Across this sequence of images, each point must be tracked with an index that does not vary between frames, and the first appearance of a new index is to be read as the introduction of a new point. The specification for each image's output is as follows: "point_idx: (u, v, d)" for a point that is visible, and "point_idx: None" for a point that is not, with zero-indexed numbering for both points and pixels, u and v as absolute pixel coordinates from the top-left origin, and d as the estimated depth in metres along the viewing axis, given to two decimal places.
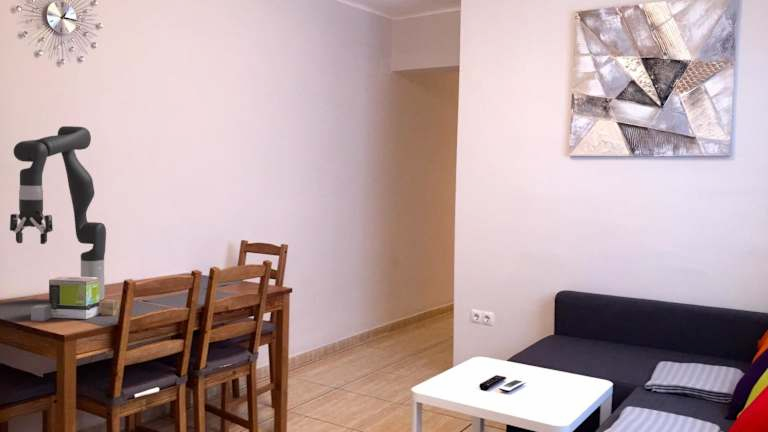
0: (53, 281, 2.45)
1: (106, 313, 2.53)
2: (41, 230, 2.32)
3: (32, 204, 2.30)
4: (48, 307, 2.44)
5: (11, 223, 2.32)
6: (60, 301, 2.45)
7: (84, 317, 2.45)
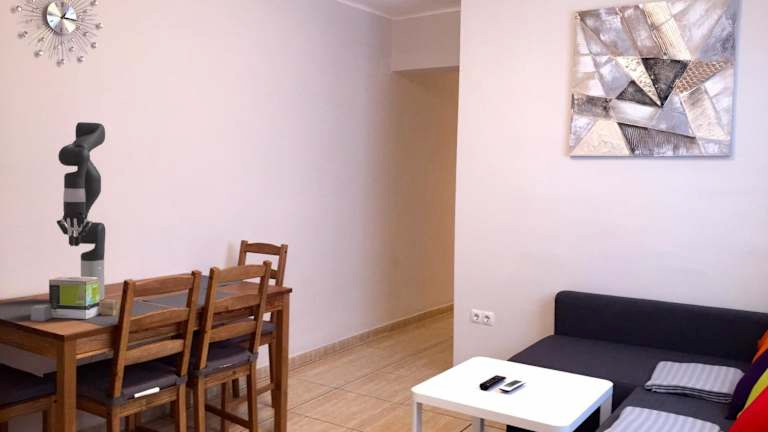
0: (53, 281, 2.45)
1: (106, 313, 2.53)
2: (76, 233, 2.47)
3: (75, 206, 2.44)
4: (48, 307, 2.44)
5: (61, 228, 2.47)
6: (60, 301, 2.45)
7: (84, 317, 2.45)
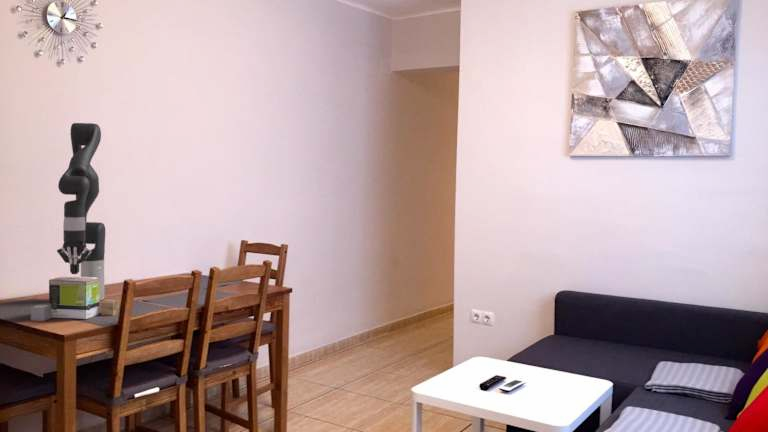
0: (53, 281, 2.45)
1: (106, 313, 2.53)
2: (75, 261, 2.48)
3: (76, 235, 2.45)
4: (48, 307, 2.44)
5: (62, 256, 2.48)
6: (60, 301, 2.45)
7: (84, 317, 2.45)
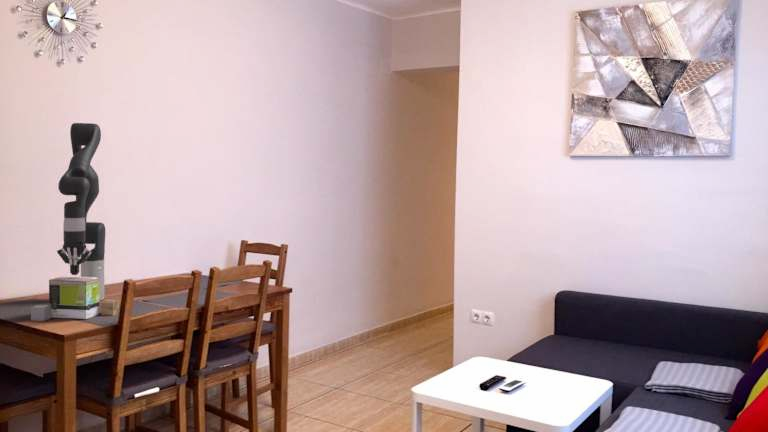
0: (53, 281, 2.45)
1: (106, 313, 2.53)
2: (75, 262, 2.48)
3: (76, 235, 2.45)
4: (48, 307, 2.44)
5: (62, 257, 2.48)
6: (60, 301, 2.45)
7: (84, 317, 2.45)
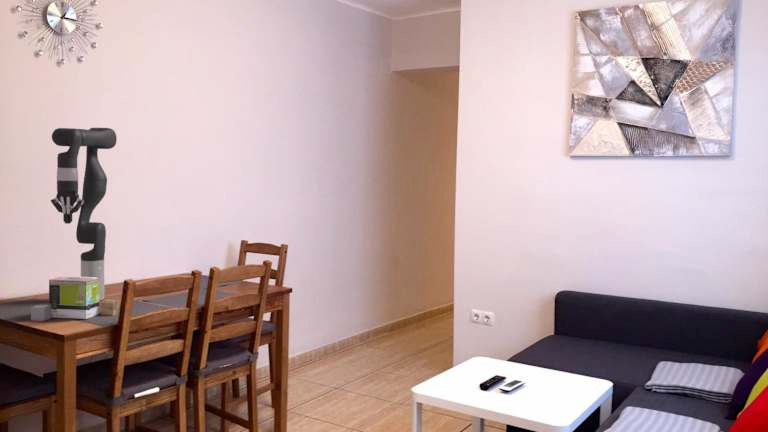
0: (53, 281, 2.45)
1: (106, 313, 2.53)
2: (68, 211, 2.56)
3: (68, 185, 2.54)
4: (48, 307, 2.44)
5: (56, 206, 2.56)
6: (60, 301, 2.45)
7: (84, 317, 2.45)
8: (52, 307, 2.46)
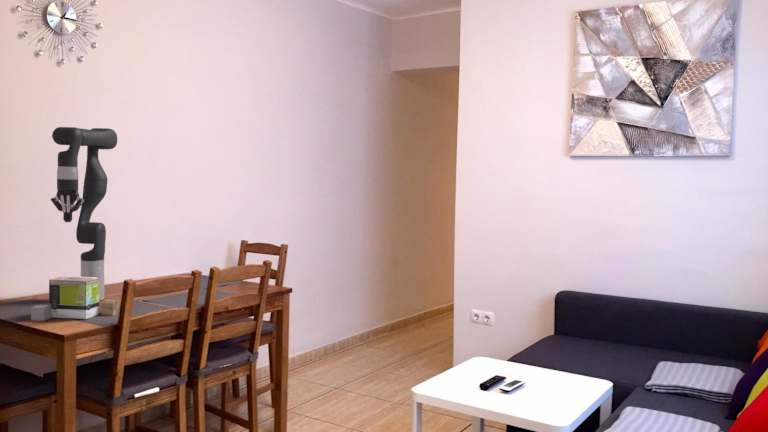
0: (53, 281, 2.45)
1: (106, 313, 2.53)
2: (68, 209, 2.57)
3: (69, 183, 2.54)
4: (48, 307, 2.44)
5: (56, 205, 2.57)
6: (60, 301, 2.45)
7: (84, 317, 2.45)
8: (52, 307, 2.46)
